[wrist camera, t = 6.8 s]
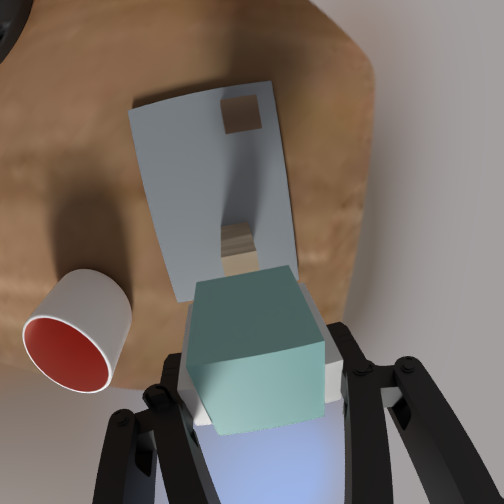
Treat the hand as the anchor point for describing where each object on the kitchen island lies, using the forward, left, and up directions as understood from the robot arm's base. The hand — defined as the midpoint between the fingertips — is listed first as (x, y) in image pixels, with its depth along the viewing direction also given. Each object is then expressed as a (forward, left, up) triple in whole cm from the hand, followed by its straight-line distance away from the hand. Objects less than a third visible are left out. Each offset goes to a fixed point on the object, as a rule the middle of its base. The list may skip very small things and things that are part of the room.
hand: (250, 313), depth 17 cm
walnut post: (-11, +2, -12) cm, 17 cm away
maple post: (0, 0, -12) cm, 12 cm away
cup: (+5, -18, -14) cm, 23 cm away
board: (-4, -1, -13) cm, 14 cm away
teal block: (0, 0, 0) cm, 0 cm away
